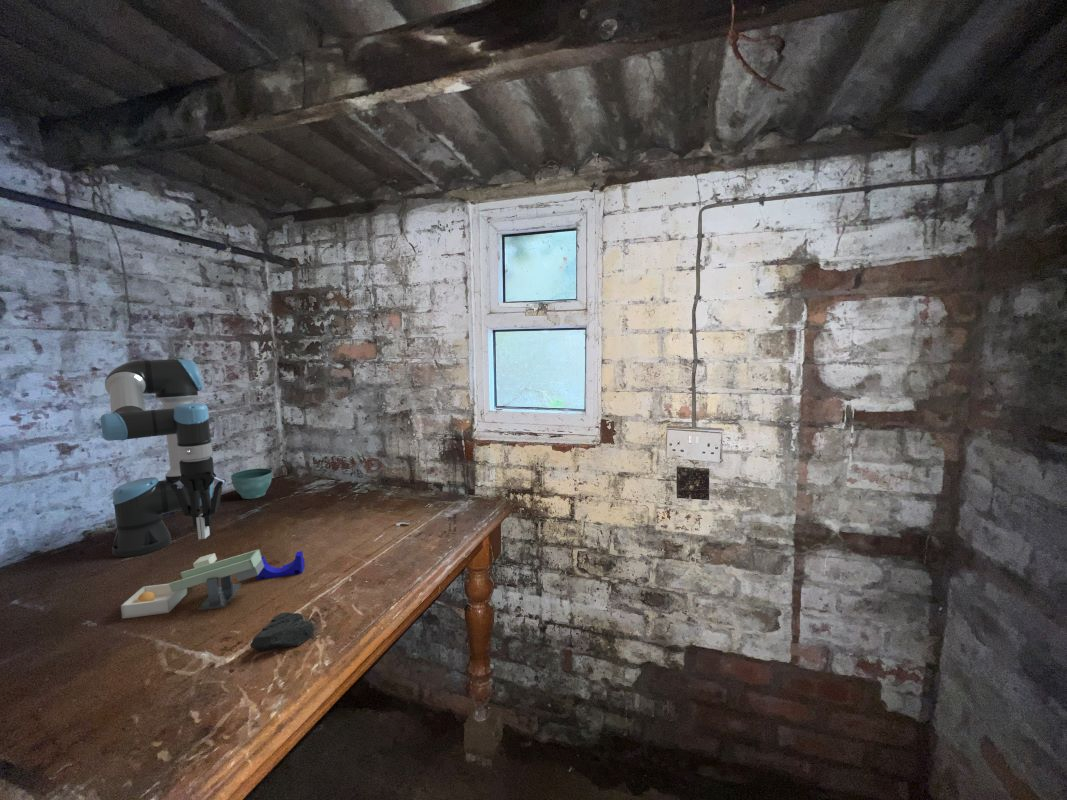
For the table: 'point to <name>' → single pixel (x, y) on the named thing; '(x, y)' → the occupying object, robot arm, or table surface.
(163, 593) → the open white tray
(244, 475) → the flower pot
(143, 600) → the ball
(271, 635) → the rock
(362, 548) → the table surface
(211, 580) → the pivot stand
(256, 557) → the lever
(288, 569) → the cable clip
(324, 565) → the table surface
